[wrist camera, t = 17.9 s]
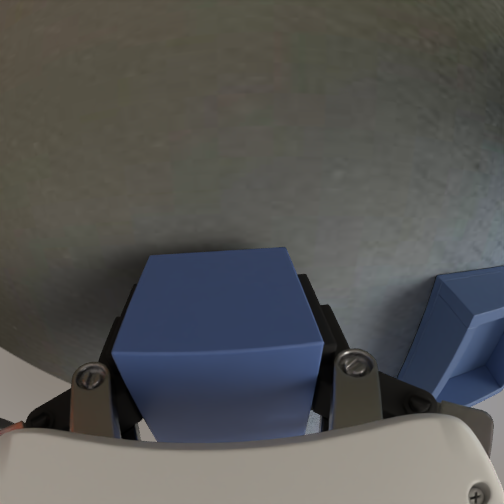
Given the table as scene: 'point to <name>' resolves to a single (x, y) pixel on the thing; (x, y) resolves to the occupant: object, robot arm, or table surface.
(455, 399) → the blue bin
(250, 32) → the table surface
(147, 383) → the blue block
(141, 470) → the robot arm
